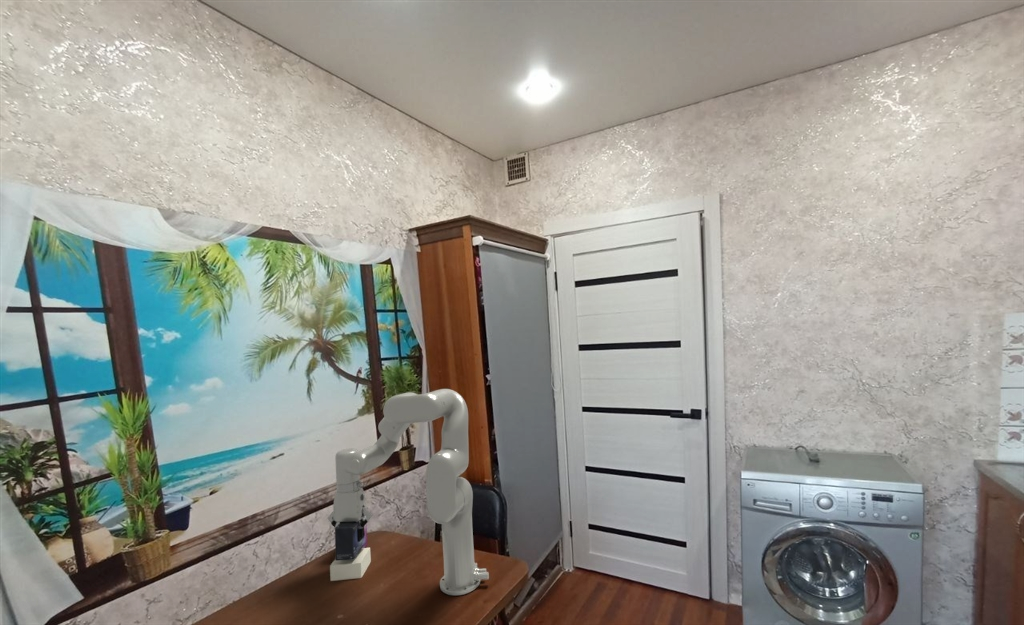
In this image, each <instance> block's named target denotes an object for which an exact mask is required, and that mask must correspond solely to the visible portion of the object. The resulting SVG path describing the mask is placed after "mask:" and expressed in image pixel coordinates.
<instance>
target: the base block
mask: <svg viewBox="0 0 1024 625" xmlns="http://www.w3.org/2000/svg"><path fill="white" fill-rule="evenodd" d="M371 562H372V556H371V547H365V548H362V549H361V550H360V551H359V553H358V554H357V555H356V556H355V558H354V559H352V560H335V559H334V560H333V561H332V563H330V565H329V573H330V574H329V576H330V582H334V581H343V580H344V581H345V580H353V579H361V578H362V577H364V574H365V573H366V571H367V569H368V568H369V566H370V564H371Z"/></svg>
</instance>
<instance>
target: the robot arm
mask: <svg viewBox="0 0 1024 625" xmlns="http://www.w3.org/2000/svg"><path fill="white" fill-rule="evenodd" d="M382 409H383V411H382V412H383V413H382V414H383V416H384V417H383V418H382V419H381V420H380V422H379V423H378V427H377V428H378V431H379V433H380V436H379V438H378V439H377V440H376V441H375V443H374V444H372V445H371V446H369V447H366V448H363V449H362V450H358V449H356V448H345V449H341V450H339V451H337V452H336V453H335V460H334V461H335V476H336V477H335V480H336V491H335V493H334V498H333V510H332V512H331V513H330V514H329V515H328V517H327V520H328V521H329V522H330V523H331V525H332V526H333V528H334V529H335V528H336V527H337V526H338V525H339V524H340V523H341V522H356V523H357V526H358V528H359V529H358V530H357V533H358V542H360V541H361V540H362V539H363V538H364V535H365V533H364V526H365V525H367V523H368V522H369V521H370V520H371V519H372V517H373V514H372V513H371V512H370V511H369V510H368V509H367V502H366V496H365V495H366V494H365V491H364V489H363V488H364V482H362V481H361V478H360V477H361V476H362V475H365V474H367V473H369V472H371V471H373V470H374V469H377V468H379V467H380V466H382V465H383V464H384V463H386V461H388V459H389V458H390V457H391V456H392V454H394V453H395V451H396V450H397V448H398V446H399V444H400V439H401V436H403V434H405V432H406V430H407V429H408V428H409V427H410V425H411V424H415V423H426V422H427V423H428V422H432V421H435V420H437V419H439V418H442V417H443V423H442V427H441V445H440V446H441V447H440V450H439V451H437V452H436V453H434V454H433V455H432V456H431V457H430V459H429V461H428V462H427V463H428V464H427V465H426V472H425V473H426V474H425V496H426V497H425V502H426V511H427V513H428V516H429V518H430V519H431V520H432V521H433V522H434V523H437V524H439V525H441V536H442V537H441V538H442V553H443V572H444V573H443V574H444V575H443V576H442V577H441V578H440V580H439V588H440V591H441V592H443V593H444V594H446V595H448V596H462V595H466V594H469V593H471V592H472V591H474V590H475V589H477V588H478V587H479V585H480V584H481V581H482V580H489V578H490V576H489V575H490V574H489V571H487V568H480V567H478V562H475V548H474V535H473V532H474V531H473V530H474V529H473V501H474V494H473V493H474V492H473V488H472V485H471V483H470V482H469V480H467V478H464V477H463V476H461V475H462V474H463V473H465V471H466V470H467V468H468V467H469V463H470V462H469V461H470V459H469V458H470V456H469V455H470V454H469V453H470V452H469V451H470V450H469V448H470V447H469V410H468V405H467V403H466V401H465V399H464V398H463V396H462V395H461V394H460V393H458V392H457V391H455V390H453V389H450V388H440V389H436V390H432V391H430V392H426V393H422V394H421V393H420V394H418V393H416V392H405V393H404V392H403V393H400V394H396V395H393V396H391V397H389V398H388V399H387V400H386V401H385V403H384V405H383V408H382ZM363 516H366V519H365V520H364V519H363Z"/></svg>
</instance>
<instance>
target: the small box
mask: <svg viewBox="0 0 1024 625" xmlns="http://www.w3.org/2000/svg"><path fill="white" fill-rule="evenodd" d="M363 519H364V520H365V516H363ZM358 529H359V528H358V526H357V523H356V522H341V523H340V524H339V525H338V526H337V527H336V528H335V527H334V544H335V546H334V547H335V548H334V549H335V550H334V551H335V552H334V553H335V555H334V560H352V559H354V558H355V556H356V555H357V554H358V553H359V551H360V550H361V549H362V548H363V547H364V545H365V544H366V543H365V535H364V538H363V539H362V540H361V541H360V542H358V533H357V530H358ZM364 533H365V526H364Z"/></svg>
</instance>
